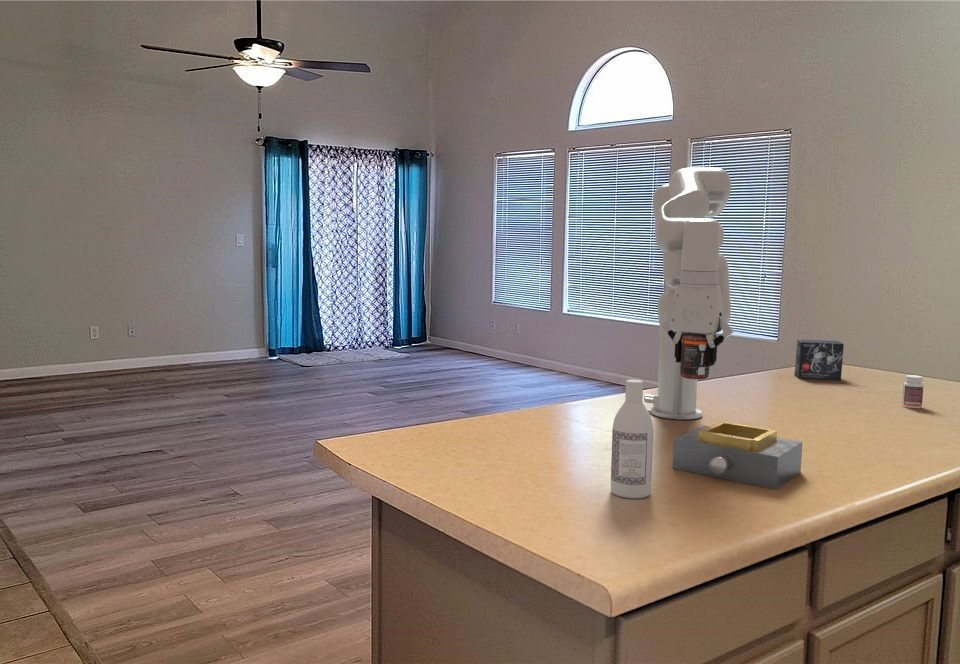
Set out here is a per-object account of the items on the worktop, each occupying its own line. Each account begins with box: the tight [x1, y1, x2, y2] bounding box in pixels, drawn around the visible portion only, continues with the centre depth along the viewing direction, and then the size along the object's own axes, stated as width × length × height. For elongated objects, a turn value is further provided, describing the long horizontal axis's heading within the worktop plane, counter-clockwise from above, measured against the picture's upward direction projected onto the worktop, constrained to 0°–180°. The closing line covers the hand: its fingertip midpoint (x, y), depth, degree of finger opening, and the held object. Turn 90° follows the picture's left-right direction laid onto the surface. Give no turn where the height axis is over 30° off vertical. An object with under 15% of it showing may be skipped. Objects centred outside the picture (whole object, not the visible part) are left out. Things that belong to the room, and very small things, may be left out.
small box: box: [793, 338, 845, 381], centre depth 261 cm, size 13×7×12 cm, turn 80°
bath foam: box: [610, 379, 654, 500], centre depth 140 cm, size 7×7×20 cm
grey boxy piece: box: [671, 421, 803, 490], centre depth 155 cm, size 20×17×8 cm
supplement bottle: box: [680, 333, 710, 380], centre depth 171 cm, size 6×6×11 cm
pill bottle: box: [901, 374, 925, 409], centre depth 217 cm, size 5×5×8 cm
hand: (695, 362), depth 172 cm, fingers closed on supplement bottle, 6 cm apart
